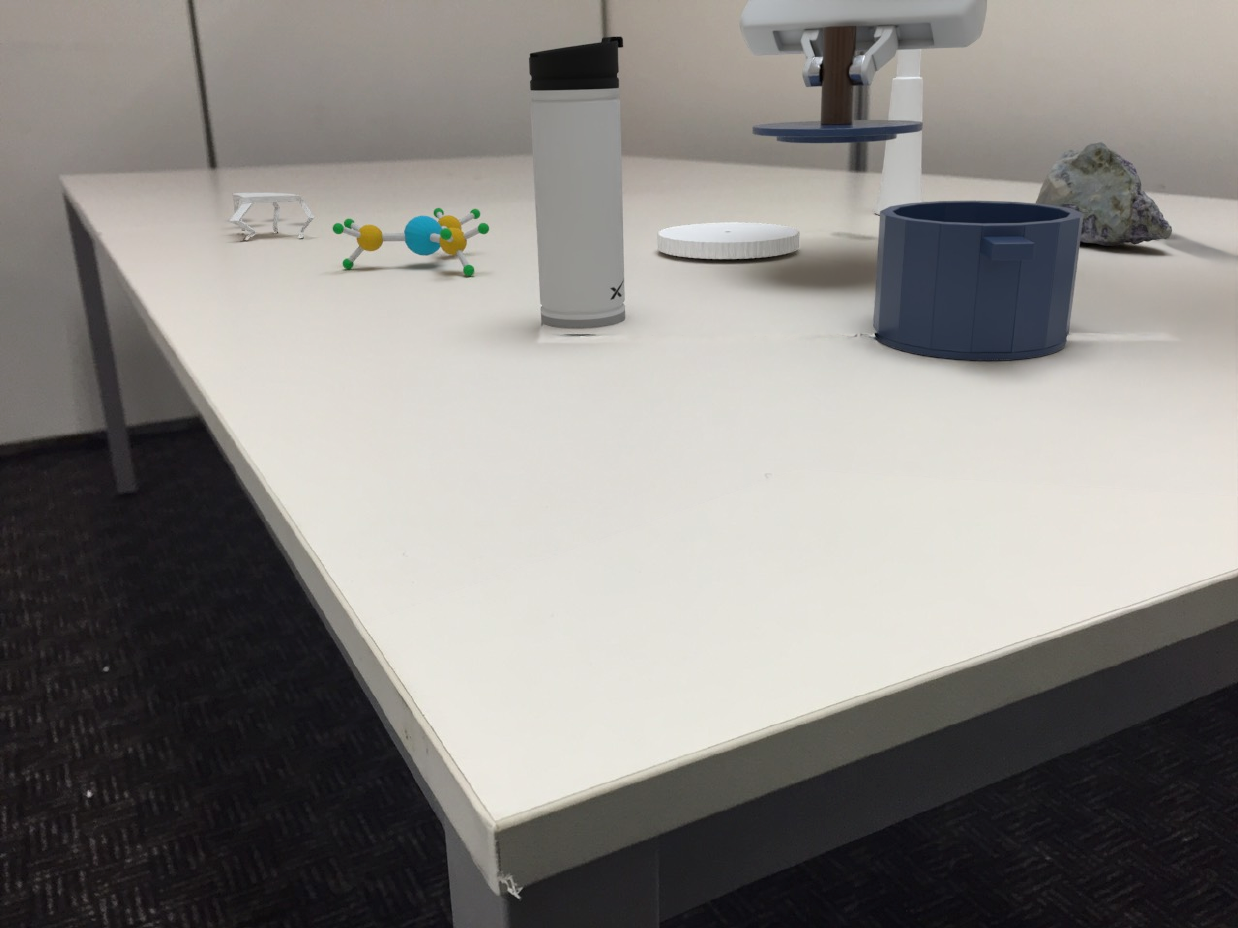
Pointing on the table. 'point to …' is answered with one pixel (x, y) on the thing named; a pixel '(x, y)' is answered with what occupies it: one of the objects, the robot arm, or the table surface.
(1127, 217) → the mineral rock
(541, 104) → the travel mug
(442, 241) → the molecular model
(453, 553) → the table surface
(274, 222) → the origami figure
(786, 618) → the table surface
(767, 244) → the plastic lid
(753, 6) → the robot arm
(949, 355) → the tin
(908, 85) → the cosmetic bottle
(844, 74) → the tin lid
